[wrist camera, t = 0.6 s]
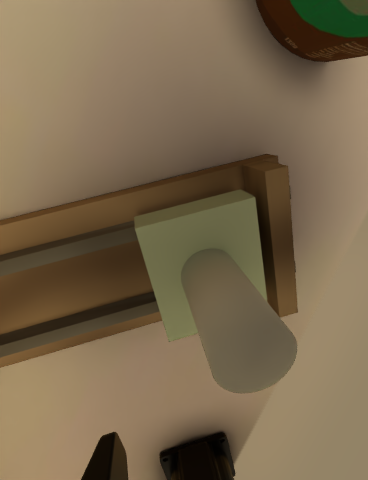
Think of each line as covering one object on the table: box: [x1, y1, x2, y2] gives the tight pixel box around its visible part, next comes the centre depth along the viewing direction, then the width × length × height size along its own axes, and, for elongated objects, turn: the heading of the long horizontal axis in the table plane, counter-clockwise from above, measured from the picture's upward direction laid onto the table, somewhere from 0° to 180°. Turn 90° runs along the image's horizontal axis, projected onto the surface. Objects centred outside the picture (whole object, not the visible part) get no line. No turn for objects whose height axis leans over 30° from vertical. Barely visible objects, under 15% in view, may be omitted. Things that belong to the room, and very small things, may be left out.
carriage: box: [134, 189, 297, 393], centre depth 13 cm, size 7×6×8 cm
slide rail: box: [0, 154, 298, 368], centre depth 17 cm, size 9×22×4 cm, turn 102°
